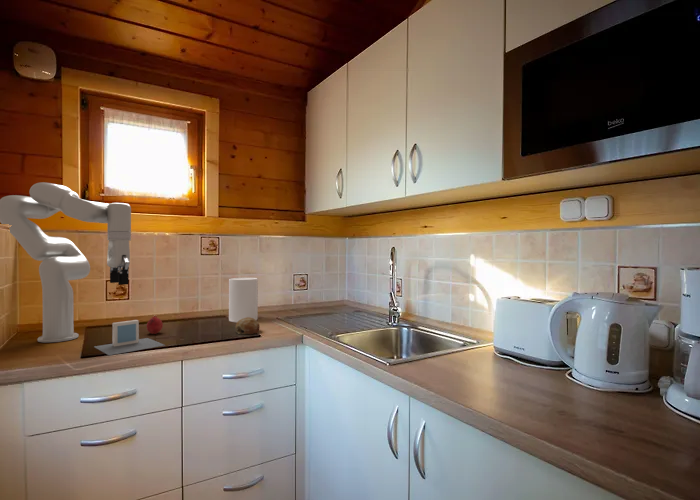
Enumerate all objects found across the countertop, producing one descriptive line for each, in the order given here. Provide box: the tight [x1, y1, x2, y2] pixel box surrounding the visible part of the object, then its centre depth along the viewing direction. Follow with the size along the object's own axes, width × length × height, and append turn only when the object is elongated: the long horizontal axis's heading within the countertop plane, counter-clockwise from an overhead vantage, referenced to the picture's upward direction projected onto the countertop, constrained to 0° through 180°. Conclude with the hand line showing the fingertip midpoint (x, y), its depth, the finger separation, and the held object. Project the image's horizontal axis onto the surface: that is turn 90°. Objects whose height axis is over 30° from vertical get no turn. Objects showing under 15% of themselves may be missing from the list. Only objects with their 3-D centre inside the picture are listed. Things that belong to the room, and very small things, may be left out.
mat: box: [93, 337, 165, 356], centre depth 140 cm, size 16×18×1 cm
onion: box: [146, 314, 164, 335], centre depth 160 cm, size 6×6×8 cm
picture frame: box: [111, 319, 140, 346], centre depth 143 cm, size 2×8×8 cm, turn 138°
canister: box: [228, 277, 259, 323], centre depth 194 cm, size 14×14×20 cm
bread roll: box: [234, 317, 261, 335], centre depth 166 cm, size 10×10×8 cm
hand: (119, 283), depth 147 cm, fingers open, 8 cm apart
